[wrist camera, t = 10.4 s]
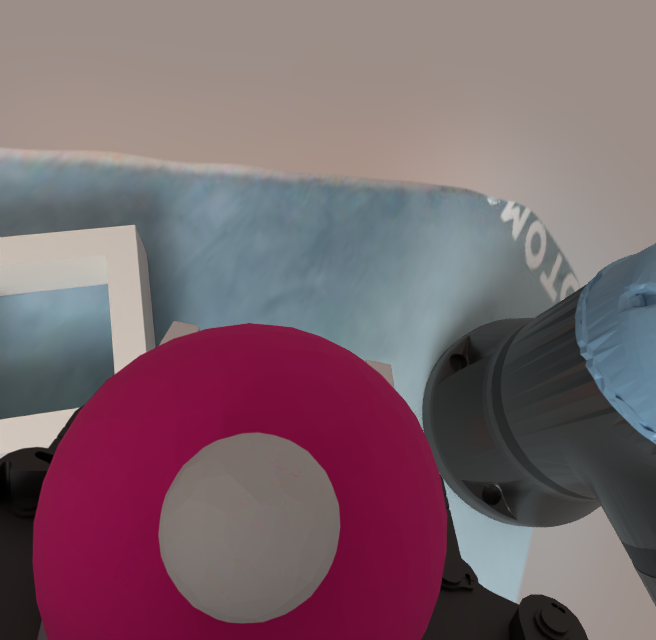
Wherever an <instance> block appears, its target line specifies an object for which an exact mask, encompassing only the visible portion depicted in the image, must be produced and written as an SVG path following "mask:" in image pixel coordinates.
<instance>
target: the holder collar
mask: <svg viewBox="0 0 656 640" xmlns="http://www.w3.org/2000/svg"><path fill="white" fill-rule="evenodd" d="M103 284H108V287H109V301H110V315H111V329H112V343H113V356H114V370H115V374H116V373H117V372H119V371H120V370H121V369H123V368H124V367H125V366H126V365H128V364H129V363H130V362H132V361H133V360H134V359H136V358H137V357H138V356H140V355H142V354H144V353H146V352H148V351H150V350H152V349H154V348H156V345H155V334H154V324H153V313H152V302H151V292H150V281H149V270H148V260H147V254H146V251H145V249H144V246H143V244H142V241H141V239H140V236H139V234H138V231H137V229H136V226H135V225H127V226H116V227H106V228H95V229H84V230H74V231H63V232H52V233H41V234H31V235H20V236H9V237H0V296H4V295H13V294H22V293H31V292H40V291H49V290H58V289H67V288H76V287H85V286H94V285H103ZM77 409H79V408H75V409H68V410H61V411H55V412H48V413H41V414H34V415H28V416H21V417H14V418H7V419H0V458H2V457H3V456H5V455H6V454H8V453H10V452H13V451H16V450H19V449H22V448H30V447H43V448H49V446H50V445H51V443H52V442H53V441H54V439H56V438H57V435H58V434H59V433H60V431H61V430H62V428H63V427H65V425H66V423H67V422H68V420H69V419H70V417H71V416H72V415H73V413H74V412H75V411H76V410H77Z"/></svg>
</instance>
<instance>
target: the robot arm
mask: <svg viewBox="0 0 656 640" xmlns="http://www.w3.org/2000/svg"><path fill="white" fill-rule="evenodd" d="M199 329H200V326H197V325H192V324H187V323H182V322H177V321H174V322H173V323H172V325H171V327H170V328H169V330H168V331H167V333H166V335H165V336H164V338H163V340H162V341H161V343H160V345H162V344H164V343H166V342H168V341H170V340H172V339H174V338H177V337H181V336H184V335H188V334H191V333H195V332H198V331H199ZM160 345H159V346H160ZM366 363H367V364H369V365H370V366H371V367H372V368H374V369H375V370H376V371H378V372H379V373H380V374H381V375H382V376H383V377H384V378H385V379H386V380H387V381H388V382H389V384H390V385H391V386H392V387H393V388H394V383H393V376H392V369H391V365H389V364H384V363H379V362H374V361H369V360H366ZM84 406H85V405H84ZM84 406H82V407H80V408H79V409H77V410H76V411H75V412H74V413H73V415H72V416H71V417H70V419H69V420H68V422H67V423H66V425H65V427H63V428H62V430H61V431H60V433H59V434H58V435H57V438H56V439H54V441H53V442H52V443H51V445H50V446H49V448H43V447H30V448H22V449H19V450H16V451H13V452H10V453H8V454H6V455H5V456H3V457H2V458H0V640H48V638H47V635H46V632H45V628H44V625H43V622H42V618H41V615H40V611H39V608H38V605H37V599H36V590H35V581H34V572H33V529H34V519H35V515H36V510H37V506H38V501H39V497H40V493H41V488H42V484H43V481H44V478H45V476H46V474H47V471H48V469H49V466H50V464H51V461H52V459H53V457H54V454H55V452H56V449H57V447H58V445H59V443H60V441H61V440H62V438H63V437H64V435H65V433H66V432H67V430H68V429H69V427H70V426H71V424H72V422H73V421H74V419H75V418H76V416H77V414H78V413H79V411H80V410H81V409H82V408H83V407H84ZM422 415H423V428H424V434H425V436H426V438H427V441H428V443H429V445H430V447H431V450H432V453H433V456H434V459H435V462H436V465H437V468H438V471H439V473H440V474H441V475H440V478H441V483H442V488H443V494H444V500H445V505H446V511H447V550H446V557H445V563H444V569H443V575H442V581H441V587H440V592H439V595H438V598H437V602H436V604H435V607H434V610H433V613H432V615H431V618H430V621H429V624H428V626H427V629H426V631H425V633H424V635H423V637H422V639H421V640H588V638H587V635H586V633H585V630H584V629H583V627H582V625H581V623H580V622H579V620H578V619H577V617H576V616H575V615H574V614H573V613H572V612H571V611H570V610H569V609H568V608H567V607H566V606H564V605H563V604H561V603H560V602H558V601H557V600H555V599H553V598H550V597H547V596H544V595H529V596H527V597H525V598H523V599H522V601H521V603H520V604H519V605H518V604H516V603H514V602H512V601H510V600H508V599H505V598H503V597H501V596H499V595H497V594H495V593H493V592H491V591H489V590H488V589H486V588H484V587H483V586H482V585H480V584H479V583H478V578H477V576H476V575H475V573H474V571H473V570H472V568H471V567H470V566H469V565H468V564H467V563H466V562H465V561H464V560H463V559H462V558H461V556H460V551H459V547H458V542H457V538H456V534H455V529H454V525H453V521H452V516H451V512H450V510H449V503H448V499H447V497H446V490H445V486H444V482H443V479H444V480H445V482H446V483H447V484H448V485H449V487H450V488H451V489H452V490H453V491H454V492H455V493H456V494H457V495H458V496H459V497H460V498H461V499H462V500H463V501H464V502H466V503H467V504H468V505H469V506H471V507H472V508H473V509H475V510H477V511H478V512H480V513H481V514H483V515H485V516H487V517H489V518H492V519H494V520H497V521H500V522H503V523H506V524H510V525H516V526H527V527H553V526H559V525H563V524H567V523H571V522H573V521H576V520H579V519H581V518H583V517H585V516H587V515H588V514H590V513H591V512H593V511H594V510H596V509H597V508H598V507H600V506H602V508H603V510H604V512H605V513H606V515H607V517H608V519H609V521H610V523H611V524H612V526H613V528H614V530H615V531H616V533H617V535H618V537H619V539H620V540H621V542H622V544H623V546H624V547H625V549H626V551H627V553H628V555H629V557H630V559H631V560H632V563H633V565H634V567H635V569H636V571H637V573H638V575H639V576H640V578H641V580H642V582H643V584H644V586H645V587H646V589H647V591H648V593H649V594H650V597H651V598H652V600H653V602H654V604H655V606H656V243H655V244H654V245H652V246H650V247H648V248H646V249H644V250H643V251H641V252H639V253H637V254H634V255H630V256H628V257H624V258H622V259H619V260H617V261H615V262H613V263H611V264H610V265H608V266H607V267H605V268H603V269H602V270H601V271H599V272H598V274H597V275H596V277H594V278H593V279H592V280H591V281H590V282H588V284H587V285H585V286H584V287H582V288H580V289H579V290H577V291H576V292H574V293H573V294H571V295H570V296H568V297H567V298H565V299H564V300H562V301H561V302H559V303H558V304H556V305H555V306H553V307H552V308H550V309H548V310H547V311H545V312H544V313H542V314H540V315H539V316H537V317H536V318H523V319H505V320H499V321H495V322H491V323H489V324H486V325H483V326H481V327H478V328H476V329H474V330H473V331H471V332H469V333H468V334H466V335H465V336H464V337H462V338H461V339H460V340H458V341H457V342H456V343H455V344H453V345H452V346H451V347H450V348H449V349H448V350H447V351H446V352H445V353H444V354H443V355H442V357H441V358H440V359H439V360H438V362H437V364H436V365H435V367H434V369H433V371H432V372H431V375H430V377H429V380H428V383H427V385H426V389H425V394H424V399H423V414H422ZM441 476H442V477H443V478H442V477H441Z"/></svg>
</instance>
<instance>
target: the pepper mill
mask: <svg viewBox="0 0 656 640" xmlns="http://www.w3.org/2000/svg"><path fill="white" fill-rule="evenodd" d="M446 550H447V511H446V505H445V500H444V494H443V488H442V483H441V478H440V474H439V471H438V468H437V465H436V462H435V459H434V456H433V453H432V450H431V447H430V445H429V443H428V441H427V438H426V436H425V434H424V432H423V430H422V428H421V426H420V424H419V422H418V419H417V417H416V416H415V414H414V413H413V411H412V410H411V409H410V407H409V406H408V404H407V403H406V401H405V400H404V399H403V398H402V397H401V396H400V395H399V394H398V392H397V391H396V390H395V389H394V388H393V387H392V386H391V385H390V384H389V382H388V381H387V380H386V379H385V378H384V377H383V376H382V375H381V374H380V373H379V372H378V371H376V370H375V369H374V368H372V367H371V366H370V365H369V364H367V363H366V362H365V361H363V360H362V359H361V358H359V357H358V356H356V355H355V354H353V353H352V352H351V351H349V350H347V349H345V348H343V347H341V346H339V345H337V344H335V343H333V342H331V341H329V340H327V339H325V338H322V337H320V336H317V335H314V334H311V333H308V332H305V331H302V330H299V329H295V328H292V327H283V326H274V325H262V324H251V323H248V324H240V325H233V326H225V327H218V328H210V329H205V330H202V331H198V332H195V333H191V334H188V335H184V336H181V337H177V338H174V339H172V340H170V341H168V342H166V343H164V344H162V345H160V346H158V347H156V348H154V349H152V350H150V351H148V352H146V353H144V354H142V355H140V356H138V357H137V358H136V359H134V360H133V361H132V362H130V363H129V364H128V365H126V366H125V367H124V368H123V369H121V370H120V371H119V372H117V373H116V374H115V375H113V376H112V377H111V378H109V379H108V380H107V381H106V382H105V383H104V384H103V385H102V386H101V387H100V389H99V390H98V391H97V392H96V393H95V394H94V395H93V397H92V398H91V399H90V400H89V401H88V402H87V403H86V404H85V406H84V407H83V408H82V409H81V410H80V411H79V413H78V414H77V416H76V418H75V419H74V421H73V422H72V424H71V426H70V427H69V429H68V430H67V432H66V433H65V435H64V437H63V438H62V440H61V441H60V443H59V445H58V447H57V449H56V452H55V454H54V457H53V459H52V461H51V464H50V466H49V469H48V471H47V474H46V476H45V478H44V481H43V484H42V488H41V493H40V497H39V501H38V506H37V510H36V515H35V519H34V529H33V572H34V581H35V590H36V599H37V605H38V608H39V611H40V615H41V618H42V622H43V625H44V628H45V632H46V635H47V638H48V640H421V639H422V637H423V635H424V633H425V631H426V629H427V626H428V624H429V621H430V618H431V615H432V613H433V610H434V607H435V604H436V602H437V598H438V595H439V592H440V587H441V581H442V575H443V569H444V563H445V557H446Z"/></svg>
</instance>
